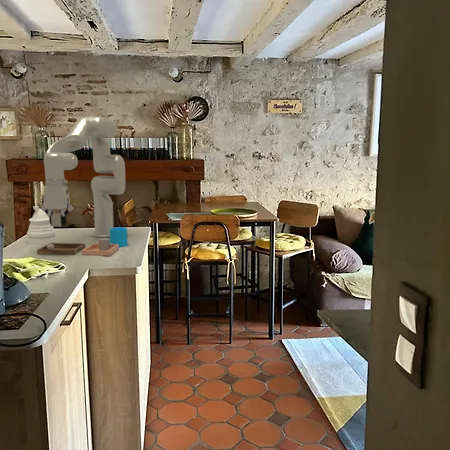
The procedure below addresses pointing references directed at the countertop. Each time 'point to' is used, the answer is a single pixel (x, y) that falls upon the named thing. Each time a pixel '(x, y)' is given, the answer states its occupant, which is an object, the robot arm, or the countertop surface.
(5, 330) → the countertop surface
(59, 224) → the stone
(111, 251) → the tray
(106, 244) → the stone
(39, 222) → the honey pot
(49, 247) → the pebble
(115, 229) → the mug
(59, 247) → the tray
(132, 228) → the countertop surface
